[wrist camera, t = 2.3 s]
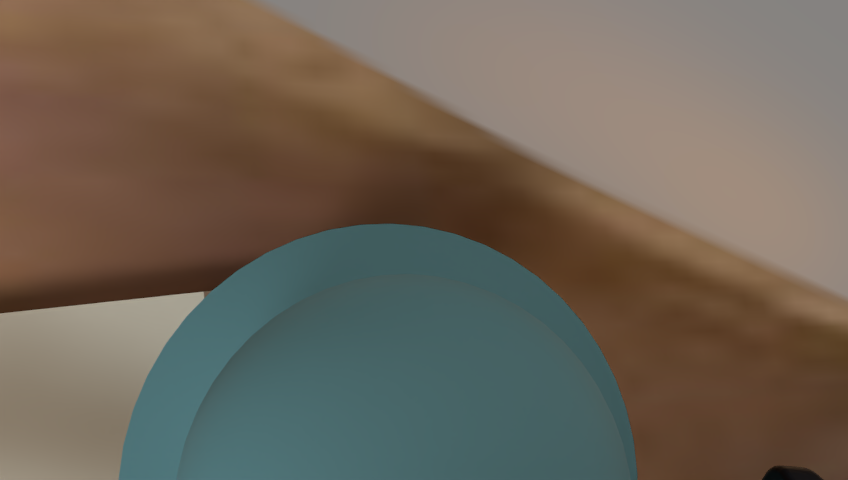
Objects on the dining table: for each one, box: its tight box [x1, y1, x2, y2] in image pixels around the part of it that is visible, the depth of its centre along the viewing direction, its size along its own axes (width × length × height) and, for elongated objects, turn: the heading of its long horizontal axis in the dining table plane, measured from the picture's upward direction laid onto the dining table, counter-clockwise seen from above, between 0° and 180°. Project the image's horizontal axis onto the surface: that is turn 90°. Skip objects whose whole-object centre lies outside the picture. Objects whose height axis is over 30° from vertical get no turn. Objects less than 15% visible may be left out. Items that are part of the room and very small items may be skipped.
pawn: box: [119, 224, 637, 480], centre depth 10 cm, size 5×5×12 cm
